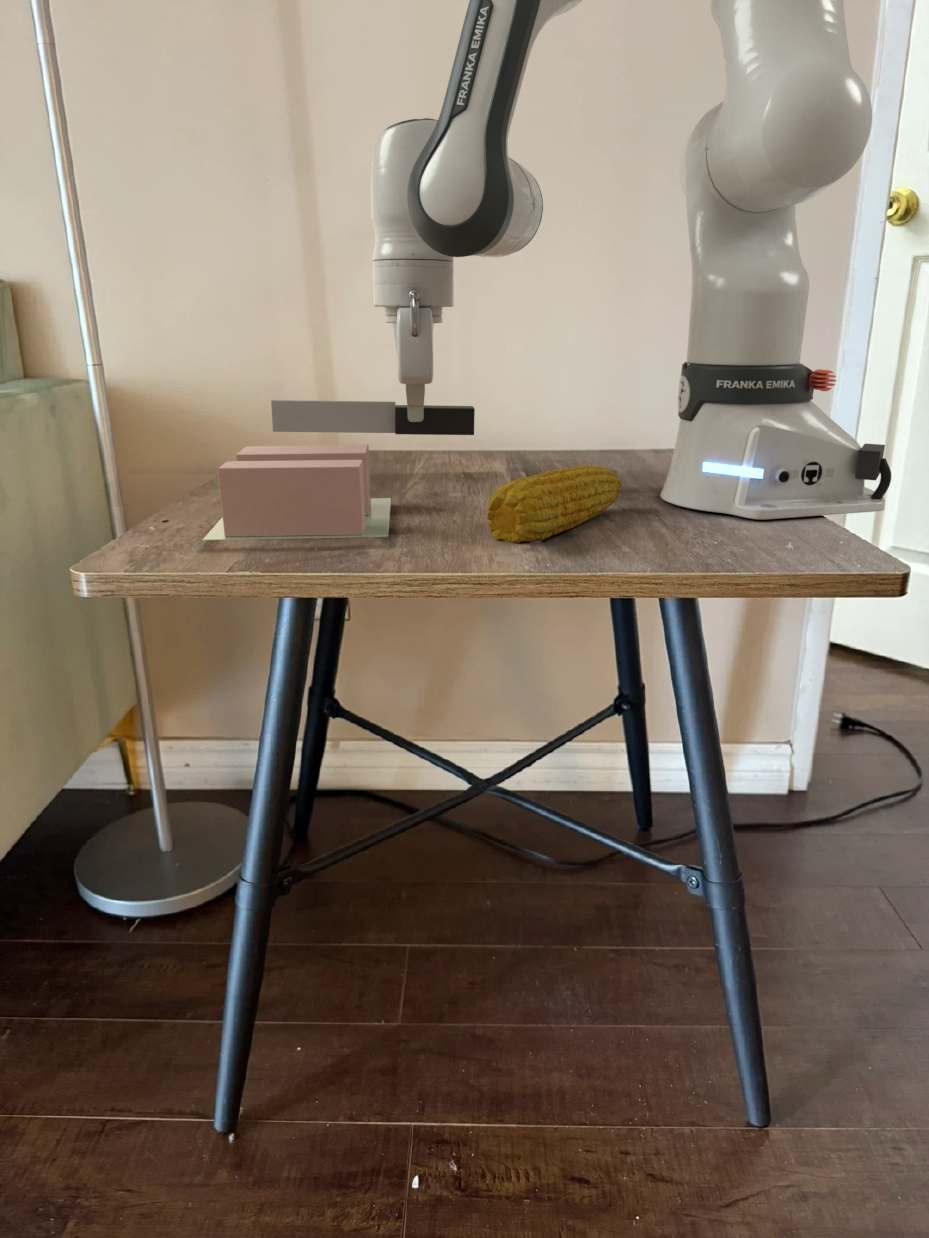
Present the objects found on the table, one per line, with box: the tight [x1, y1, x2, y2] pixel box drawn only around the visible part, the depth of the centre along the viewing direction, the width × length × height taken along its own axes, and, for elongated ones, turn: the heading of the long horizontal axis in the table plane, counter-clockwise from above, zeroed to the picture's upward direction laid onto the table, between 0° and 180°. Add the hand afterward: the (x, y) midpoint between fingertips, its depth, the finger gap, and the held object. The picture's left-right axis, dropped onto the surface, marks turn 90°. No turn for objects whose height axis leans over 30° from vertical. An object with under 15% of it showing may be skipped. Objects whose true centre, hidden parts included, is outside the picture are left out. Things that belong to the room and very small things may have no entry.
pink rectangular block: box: [235, 444, 372, 515], centre depth 83 cm, size 12×5×6 cm, turn 94°
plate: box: [202, 497, 392, 541], centre depth 82 cm, size 16×16×1 cm
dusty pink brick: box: [217, 460, 366, 537], centre depth 75 cm, size 12×4×6 cm, turn 92°
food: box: [486, 464, 622, 544], centre depth 80 cm, size 21×6×6 cm, turn 148°
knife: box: [270, 399, 476, 436], centre depth 99 cm, size 23×3×4 cm, turn 93°
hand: (415, 419), depth 99 cm, fingers closed on knife, 2 cm apart
